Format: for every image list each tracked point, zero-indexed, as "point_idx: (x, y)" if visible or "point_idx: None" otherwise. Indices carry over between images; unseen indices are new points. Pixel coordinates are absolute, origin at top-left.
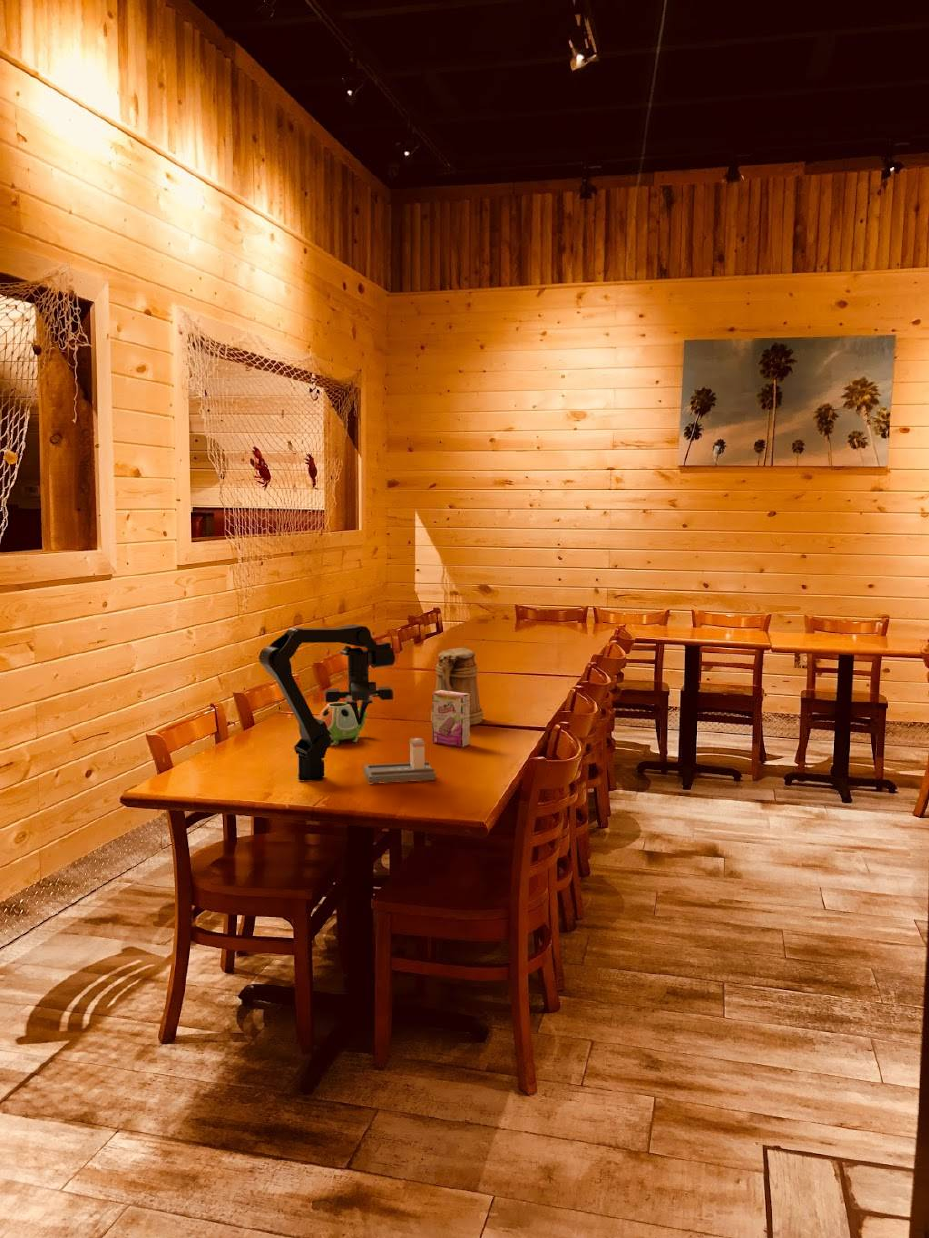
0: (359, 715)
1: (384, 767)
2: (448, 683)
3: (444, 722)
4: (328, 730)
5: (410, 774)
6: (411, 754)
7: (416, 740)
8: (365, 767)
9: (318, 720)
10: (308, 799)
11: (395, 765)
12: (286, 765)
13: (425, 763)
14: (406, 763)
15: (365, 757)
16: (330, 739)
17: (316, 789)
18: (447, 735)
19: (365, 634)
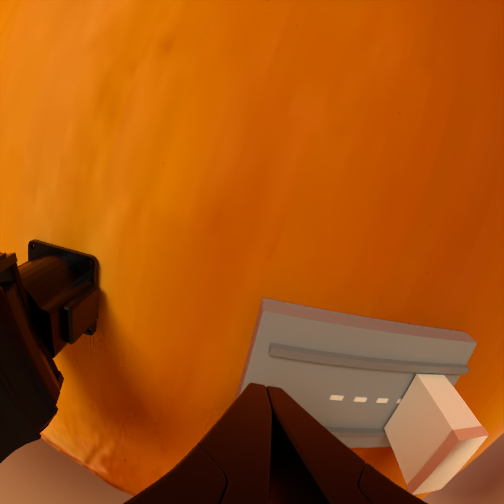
0: (274, 455)
1: (327, 367)
2: None
3: None
4: (19, 447)
5: (356, 445)
6: (420, 424)
7: (450, 465)
8: (257, 342)
9: None
10: (71, 435)
11: (372, 366)
12: (27, 90)
13: (456, 372)
14: (409, 370)
15: (349, 67)
16: (50, 420)
17: (81, 392)
18: None
19: None
